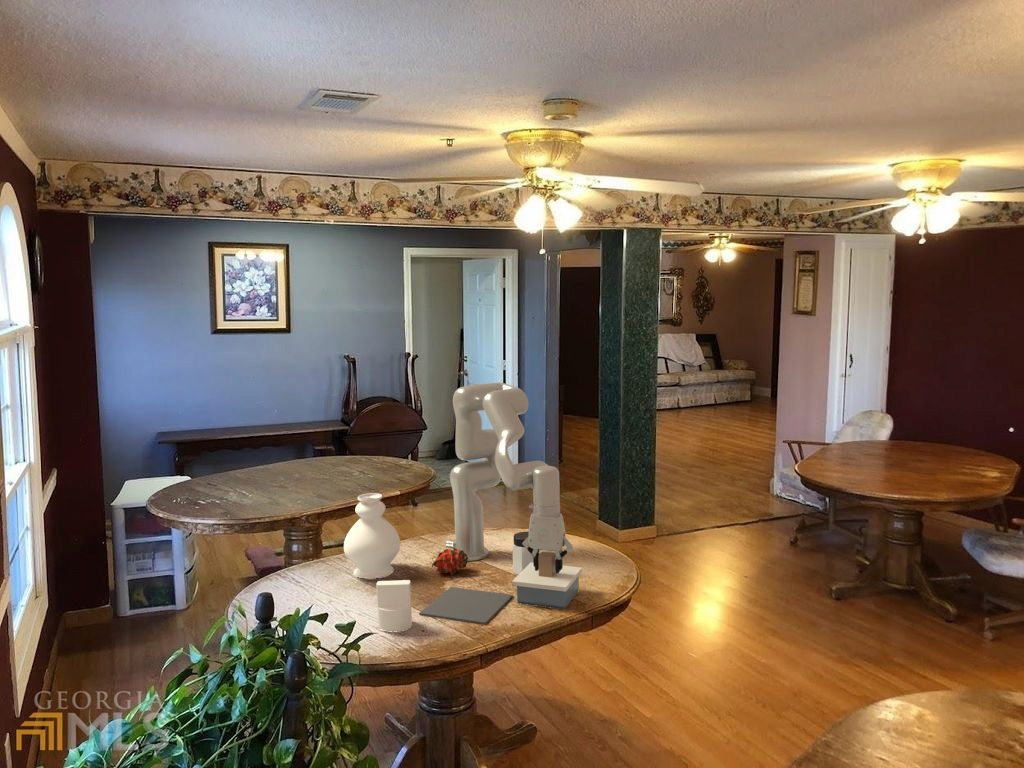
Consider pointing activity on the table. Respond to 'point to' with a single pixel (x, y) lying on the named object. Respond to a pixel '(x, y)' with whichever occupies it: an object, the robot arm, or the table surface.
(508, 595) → the mat
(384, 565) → the decorative vase
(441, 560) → the dragon fruit
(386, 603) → the cylinder with rectangular tab
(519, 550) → the jar
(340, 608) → the table surface
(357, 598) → the table surface
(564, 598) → the open square box
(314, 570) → the table surface
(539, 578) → the lid
